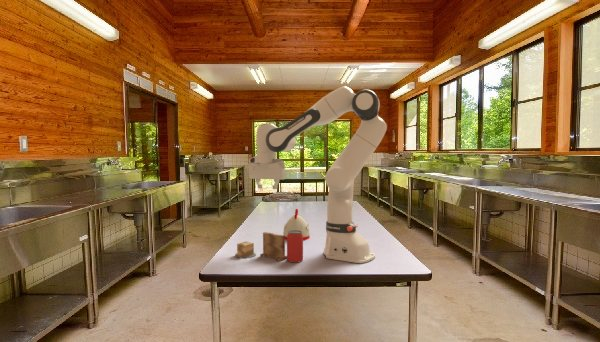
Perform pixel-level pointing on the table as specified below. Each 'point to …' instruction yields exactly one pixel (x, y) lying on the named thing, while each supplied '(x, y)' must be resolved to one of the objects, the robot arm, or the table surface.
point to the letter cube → (245, 249)
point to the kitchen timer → (297, 226)
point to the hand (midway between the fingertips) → (267, 188)
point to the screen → (274, 246)
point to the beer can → (295, 246)
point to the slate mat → (245, 257)
